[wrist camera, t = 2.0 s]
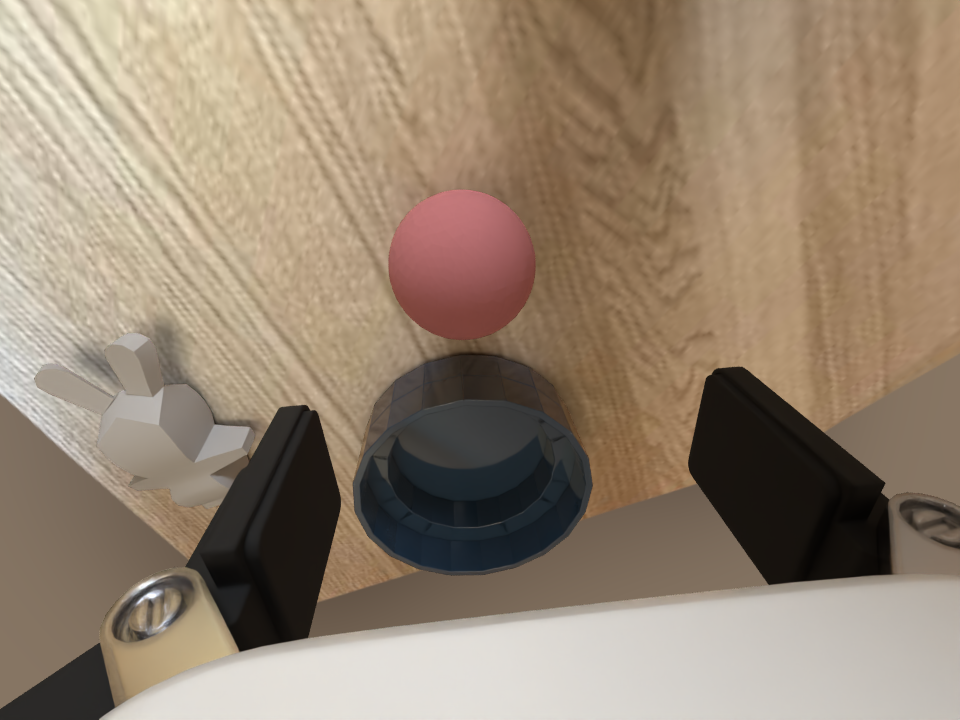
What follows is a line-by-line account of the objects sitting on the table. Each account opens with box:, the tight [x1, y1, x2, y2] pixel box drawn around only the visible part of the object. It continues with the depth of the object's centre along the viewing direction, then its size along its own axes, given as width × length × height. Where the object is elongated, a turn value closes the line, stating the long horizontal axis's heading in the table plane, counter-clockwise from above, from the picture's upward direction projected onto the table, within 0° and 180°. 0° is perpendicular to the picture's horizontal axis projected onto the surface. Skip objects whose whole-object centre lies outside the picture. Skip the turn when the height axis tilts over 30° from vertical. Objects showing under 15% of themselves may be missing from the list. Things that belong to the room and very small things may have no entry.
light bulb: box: [389, 190, 535, 340], centre depth 24 cm, size 7×7×12 cm
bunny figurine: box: [34, 333, 255, 509], centre depth 33 cm, size 10×5×15 cm
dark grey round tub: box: [353, 355, 593, 575], centre depth 35 cm, size 17×17×6 cm
